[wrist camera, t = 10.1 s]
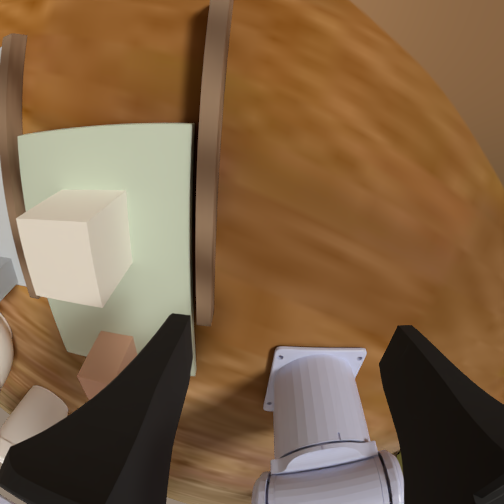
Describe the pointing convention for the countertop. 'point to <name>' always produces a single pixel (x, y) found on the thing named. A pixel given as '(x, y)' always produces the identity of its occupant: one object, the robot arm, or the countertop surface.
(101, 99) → the countertop surface
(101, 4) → the countertop surface
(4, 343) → the lidded jar
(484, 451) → the robot arm
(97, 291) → the cream cube
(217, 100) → the lane rails
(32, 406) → the foam cup
